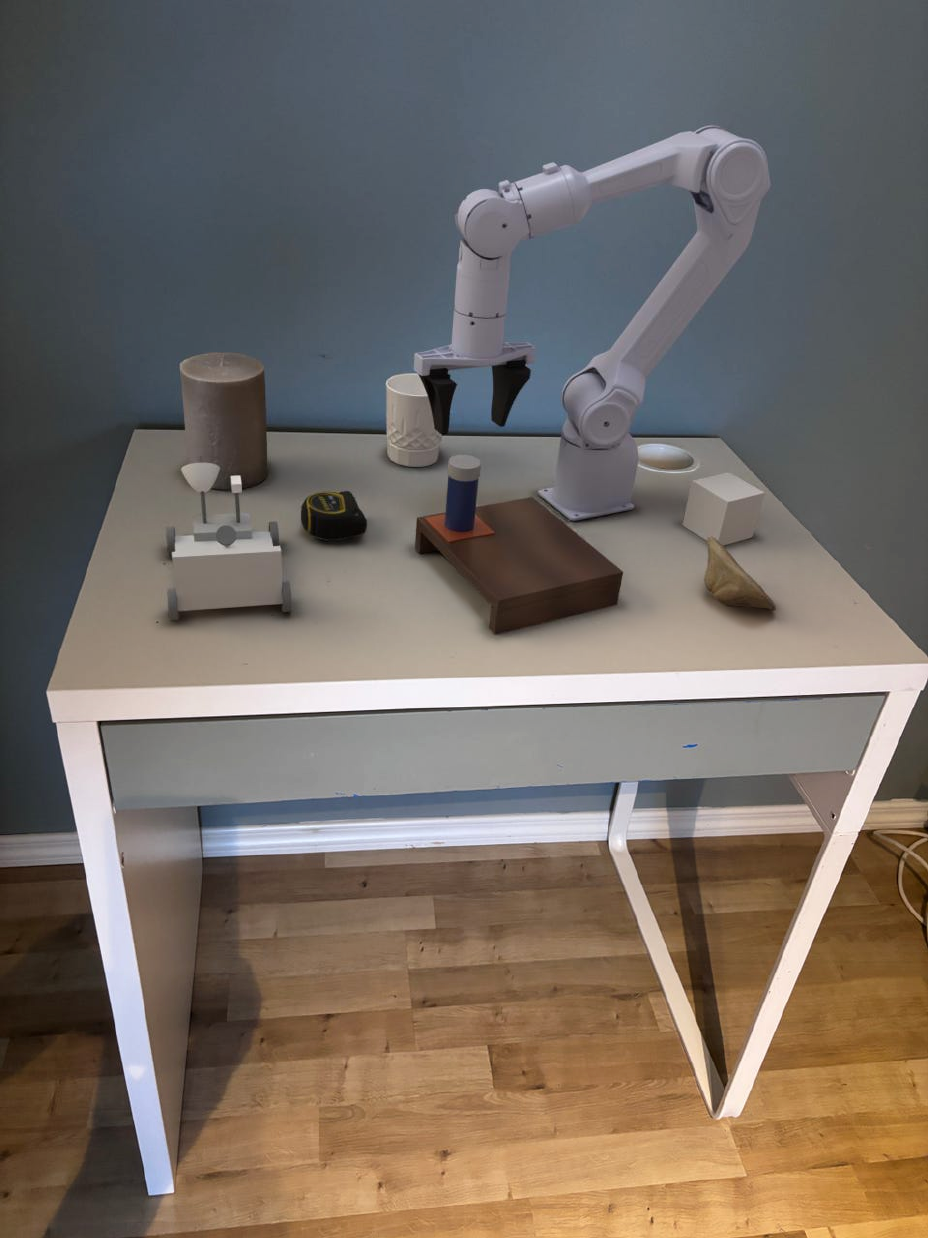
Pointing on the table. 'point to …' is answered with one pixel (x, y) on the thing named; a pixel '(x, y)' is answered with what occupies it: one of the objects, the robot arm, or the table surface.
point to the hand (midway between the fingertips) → (469, 427)
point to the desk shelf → (524, 563)
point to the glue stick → (462, 492)
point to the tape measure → (332, 516)
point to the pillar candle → (226, 415)
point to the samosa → (732, 580)
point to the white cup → (410, 423)
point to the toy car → (224, 556)
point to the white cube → (723, 508)
